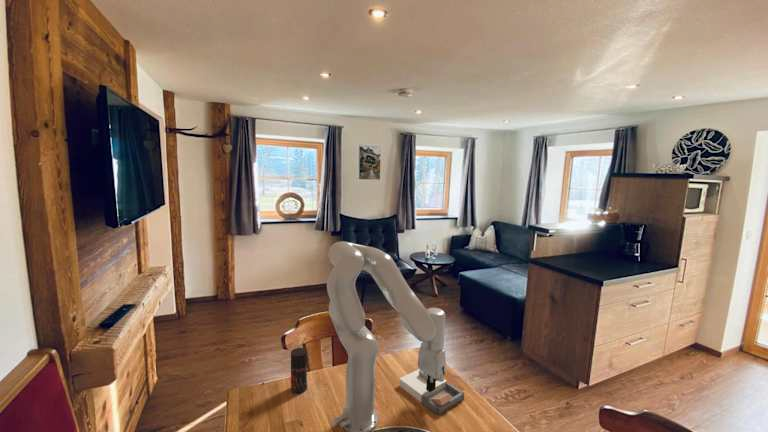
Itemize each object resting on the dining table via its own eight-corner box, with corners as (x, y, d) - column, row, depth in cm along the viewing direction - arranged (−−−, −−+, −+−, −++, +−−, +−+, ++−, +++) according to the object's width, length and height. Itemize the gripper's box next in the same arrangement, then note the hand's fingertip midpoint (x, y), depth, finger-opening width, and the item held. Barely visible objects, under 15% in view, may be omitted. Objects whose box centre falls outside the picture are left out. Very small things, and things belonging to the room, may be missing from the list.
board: (421, 402, 123) (421, 394, 123) (399, 385, 132) (399, 378, 132) (446, 387, 132) (447, 380, 131) (424, 372, 141) (424, 366, 141)
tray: (438, 415, 117) (438, 409, 116) (421, 402, 123) (421, 396, 123) (463, 399, 126) (464, 393, 125) (447, 388, 132) (447, 382, 131)
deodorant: (308, 392, 127) (308, 354, 125) (291, 395, 125) (291, 357, 123) (305, 382, 132) (305, 346, 130) (290, 385, 130) (289, 349, 128)
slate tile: (427, 381, 130) (428, 376, 130) (418, 375, 134) (418, 370, 134) (436, 377, 134) (436, 372, 133) (427, 370, 137) (427, 366, 137)
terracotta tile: (430, 399, 122) (432, 405, 121) (440, 399, 118) (441, 405, 117) (440, 393, 125) (441, 399, 124) (449, 393, 121) (451, 399, 120)
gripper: (411, 337, 125) (409, 383, 128) (442, 355, 114) (439, 405, 117) (425, 332, 130) (423, 376, 133) (456, 348, 119) (453, 396, 121)
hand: (430, 389), depth 125 cm, fingers closed
